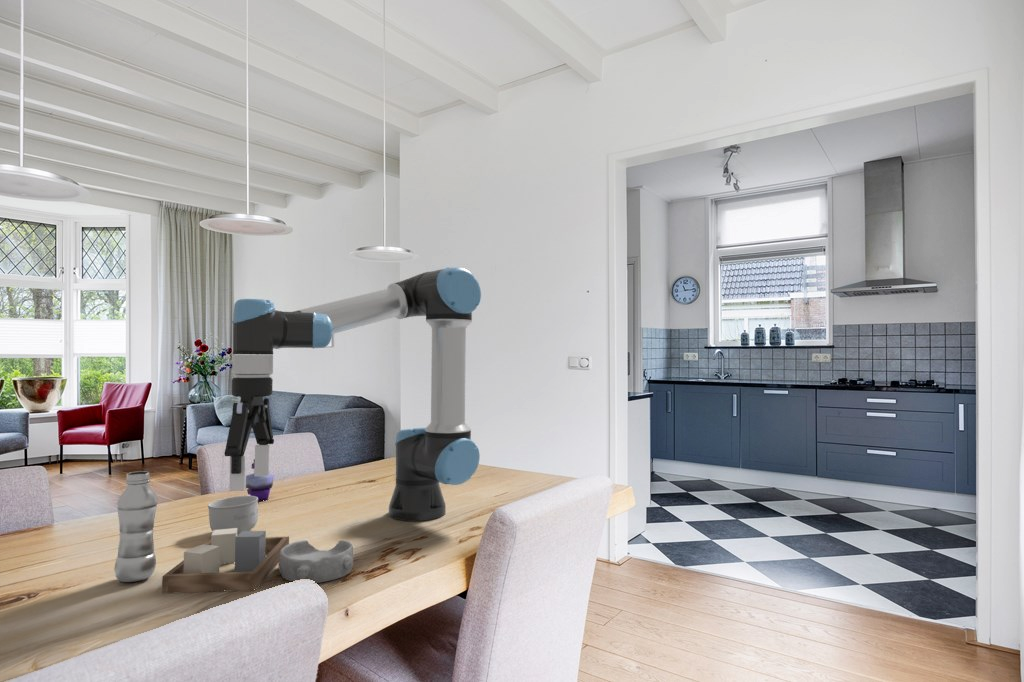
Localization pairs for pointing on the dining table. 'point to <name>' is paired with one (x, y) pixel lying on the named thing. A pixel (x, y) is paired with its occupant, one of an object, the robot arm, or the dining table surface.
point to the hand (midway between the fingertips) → (250, 483)
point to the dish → (315, 561)
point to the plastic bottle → (136, 529)
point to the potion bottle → (259, 485)
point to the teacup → (234, 513)
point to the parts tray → (224, 574)
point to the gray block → (249, 550)
